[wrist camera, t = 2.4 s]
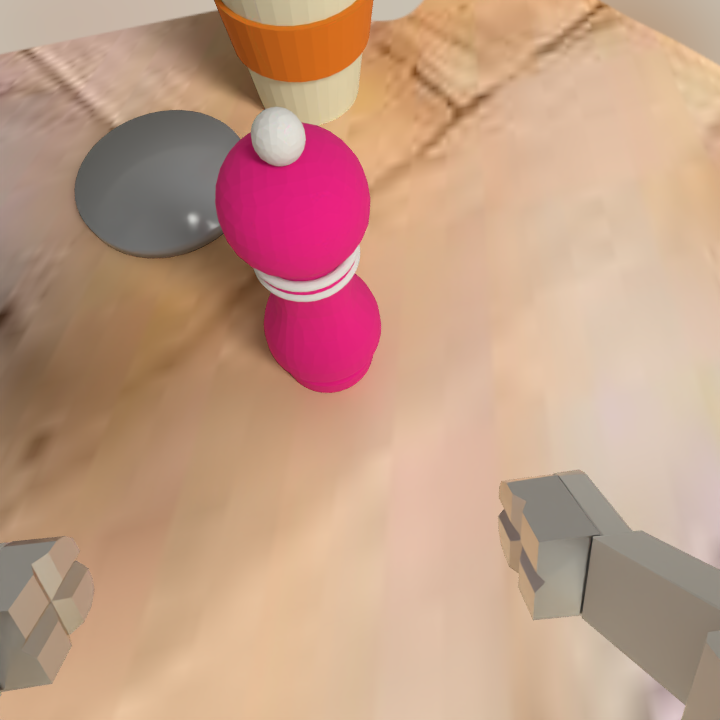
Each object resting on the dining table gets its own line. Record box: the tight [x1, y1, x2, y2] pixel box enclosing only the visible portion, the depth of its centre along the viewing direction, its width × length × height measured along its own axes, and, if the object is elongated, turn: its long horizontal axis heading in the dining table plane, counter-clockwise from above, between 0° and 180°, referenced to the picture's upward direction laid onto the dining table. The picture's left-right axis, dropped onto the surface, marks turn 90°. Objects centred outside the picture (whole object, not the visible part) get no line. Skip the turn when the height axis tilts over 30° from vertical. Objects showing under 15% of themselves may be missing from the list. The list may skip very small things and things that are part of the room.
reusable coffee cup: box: [214, 0, 373, 125], centre depth 35 cm, size 13×13×15 cm
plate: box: [75, 110, 240, 258], centre depth 38 cm, size 14×14×1 cm
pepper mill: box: [215, 107, 381, 393], centre depth 24 cm, size 7×7×20 cm
